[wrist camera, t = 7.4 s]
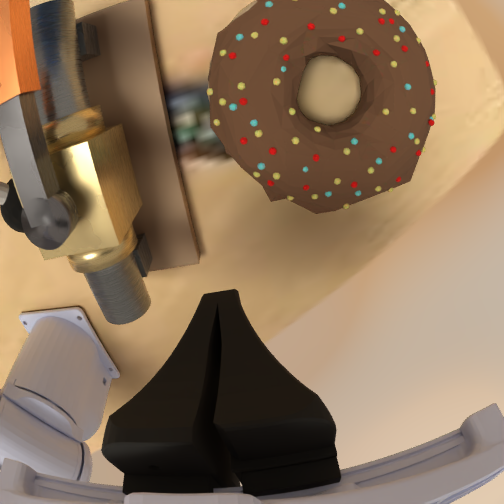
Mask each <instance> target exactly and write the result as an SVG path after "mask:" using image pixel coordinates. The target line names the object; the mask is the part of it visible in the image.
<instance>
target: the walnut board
mask: <svg viewBox="0 0 504 504" xmlns="http://www.w3.org/2000/svg"><path fill="white" fill-rule="evenodd" d="M80 22H84V23H88V24H91V25H94V26H96V27H97V34H98V40H99V47H100V53H101V55H100V56H97V57H94V58H92V59H89V60H86V61H84V62H82V66H83V71H84V77H85V82H86V87H87V92H88V97H89V101H90V106H91V107H93V106H97V105H100V106H101V111H102V115H103V120H104V124H105V128H107V127H110V126H114V125H117V124H121V123H122V126H123V130H124V134H125V139H126V143H127V147H128V151H129V155H130V159H131V163H132V167H133V170H134V174H135V178H136V182H137V185H138V189H139V193H140V196H141V200H142V203H143V204H142V206H141V208H140V209H139V211H138V213H137V215H136V216H135V218H134V220H133V222H132V225H133V228H134V231H135V234H136V235H137V234H143V233H145V236H146V239H147V242H148V245H149V248H150V251H151V254H152V257H153V260H152V263H151V266H150V269H149V271H155V270H162V269H168V268H174V267H181V266H187V265H193V264H199V260H200V252H199V248H198V244H197V240H196V236H195V232H194V228H193V224H192V220H191V216H190V212H189V207H188V203H187V199H186V195H185V190H184V186H183V182H182V177H181V173H180V168H179V164H178V159H177V155H176V150H175V145H174V141H173V136H172V131H171V126H170V121H169V116H168V111H167V106H166V101H165V96H164V91H163V86H162V80H161V75H160V69H159V64H158V58H157V52H156V46H155V40H154V34H153V28H152V22H151V15H150V8H149V2H148V0H129V1H126V2H123V3H120V4H117V5H114V6H111V7H108V8H105V9H102V10H100V11H97V12H94V13H92V14H89V15H86V16H84V17H82V18H79V19H77V20H76V24H77V23H80ZM84 276H85V275H84ZM85 278H86V277H85Z"/></svg>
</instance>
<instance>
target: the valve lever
mask: <svg viewBox="0 0 504 504" xmlns="http://www.w3.org/2000/svg"><path fill="white" fill-rule="evenodd" d="M38 90H41V86H40V81H39V75H38V70H37V64H36V58H35V51H34V44H33V36H32V27H31V18H30V6H29V0H0V135H1V139H2V143H3V146H4V150H5V154H6V157H7V160H8V164H9V167H10V170H11V173H12V176H13V179H14V182H15V185H16V188H17V191H18V194H19V197H20V200H21V202H22V205H23V210H22V213H21V223H22V227H23V230H24V232H25V234H26V236H27V237H28V239H29V240H30V241H31V242H32V243H33V244H34V245H36V246H37V247H39V248H42V249H45V250H54V249H57V248H59V247H60V246H61V245H62V244H63V243H64V242H65V241H66V239H67V238H68V237H69V236H70V234H71V233H72V232H73V231H74V229H75V228H76V225H77V222H78V211H77V207H76V205H75V202H74V201H73V199H72V198H71V197H70V195H69V194H67V193H66V192H65V191H63V190H62V189H60V187H59V184H58V181H57V177H56V174H55V171H54V168H53V165H52V161H51V158H50V154H49V151H48V147H47V144H46V140H45V136H44V132H43V129H42V125H41V120H40V116H39V112H38V108H37V103H36V98H35V94H34V92H36V91H38Z"/></svg>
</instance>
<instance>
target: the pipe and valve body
mask: <svg viewBox="0 0 504 504" xmlns="http://www.w3.org/2000/svg"><path fill="white" fill-rule="evenodd" d="M30 18H31V27H32V36H33V44H34V51H35V58H36V64H37V70H38V75H39V81H40V86H41V90H38V91H36V92H34V94H35V98H36V103H37V108H38V112H39V116H40V120H41V125H42V129H43V132H44V136H45V140H46V144H47V147H48V151H49V154H50V158H51V161H52V165H53V168H54V171H55V174H56V177H57V181H58V184H59V187H60V189H62V190H63V191H65V192H66V193H67V194H69V195H70V197H71V198H72V199H73V201H74V202H75V205H76V207H77V211H78V222H77V225H76V228H75V229H74V231H73V232H72V233H71V234H70V236H69V237H68V238H67V239H66V241H65V242H64V243H63V244H62V245H61V246H60V247H59V248H57V249H54V250H45V249H42V248H39V249H40V251H41V254H42V256H43V258H44V260H48V259H53V258H58V257H63V256H67V258H68V260H69V262H70V265H71V267H72V269H73V270H74V271H76V272H79V273H84V275H85V277H86V280H87V282H88V284H89V286H90V288H91V290H92V292H93V294H94V296H95V298H96V300H97V302H98V304H99V306H100V308H101V310H102V312H103V314H104V316H105V318H106V320H107V321H108V322H110V323H112V324H118V325H120V324H126V323H130V322H132V321H135V320H136V319H138V318H140V317H141V316H142V315H143V314H145V312H146V311H147V310H148V308H149V307H150V303H151V299H150V296H149V294H148V291H147V289H146V286H145V284H144V281H143V279H142V277H147V275H148V272H149V269H150V266H151V263H152V260H153V257H152V254H151V251H150V248H149V245H148V242H147V239H146V236H145V233H143V234H137V235H136V234H135V231H134V228H133V225H132V222H133V220H134V218H135V216H136V215H137V213H138V211H139V209H140V208H141V206H142V204H143V203H142V200H141V196H140V193H139V189H138V185H137V182H136V178H135V174H134V170H133V167H132V163H131V159H130V155H129V151H128V147H127V143H126V139H125V134H124V130H123V126H122V123H121V124H117V125H114V126H110V127H107V128H105V124H104V120H103V115H102V111H101V106H100V105H97V106H93V107H91V106H90V101H89V97H88V92H87V87H86V82H85V77H84V71H83V66H82V62H84V61H86V60H89V59H92V58H94V57H97V56H100V55H101V53H100V47H99V40H98V34H97V27H96V26H94V25H91V24H88V23H84V22H80V23H77V24H76V19H75V11H74V3H73V1H71V0H53V1H48V2H45V3H42V4H39V5H36V6H34V7H32V8H30ZM10 173H11V170H10ZM11 176H12V173H11ZM12 179H13V176H12ZM13 182H14V179H13ZM14 185H15V182H14ZM15 188H16V185H15ZM16 191H17V188H16ZM17 194H18V191H17ZM18 196H19V194H18ZM19 199H20V197H19ZM20 202H21V200H20ZM21 205H22V202H21ZM22 207H23V205H22Z"/></svg>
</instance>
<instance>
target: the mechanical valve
mask: <svg viewBox="0 0 504 504" xmlns="http://www.w3.org/2000/svg"><path fill="white" fill-rule="evenodd" d="M0 208H1V213H2V216H3V219H4V220H5V222H6V223H7V224H8V225H9V226H10V227H11V228H12V229H14V230H15V231H18V232H23V233H25V232H24V230H23V227H22V223H21V213H22V210H23V207H22V205H21V202H20V199H19V196H18V194H17V191H16V188H15V185H14V182H13V179H11V180H10V181H9V182H8V183H7V184H5V183H3V182H0Z"/></svg>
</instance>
